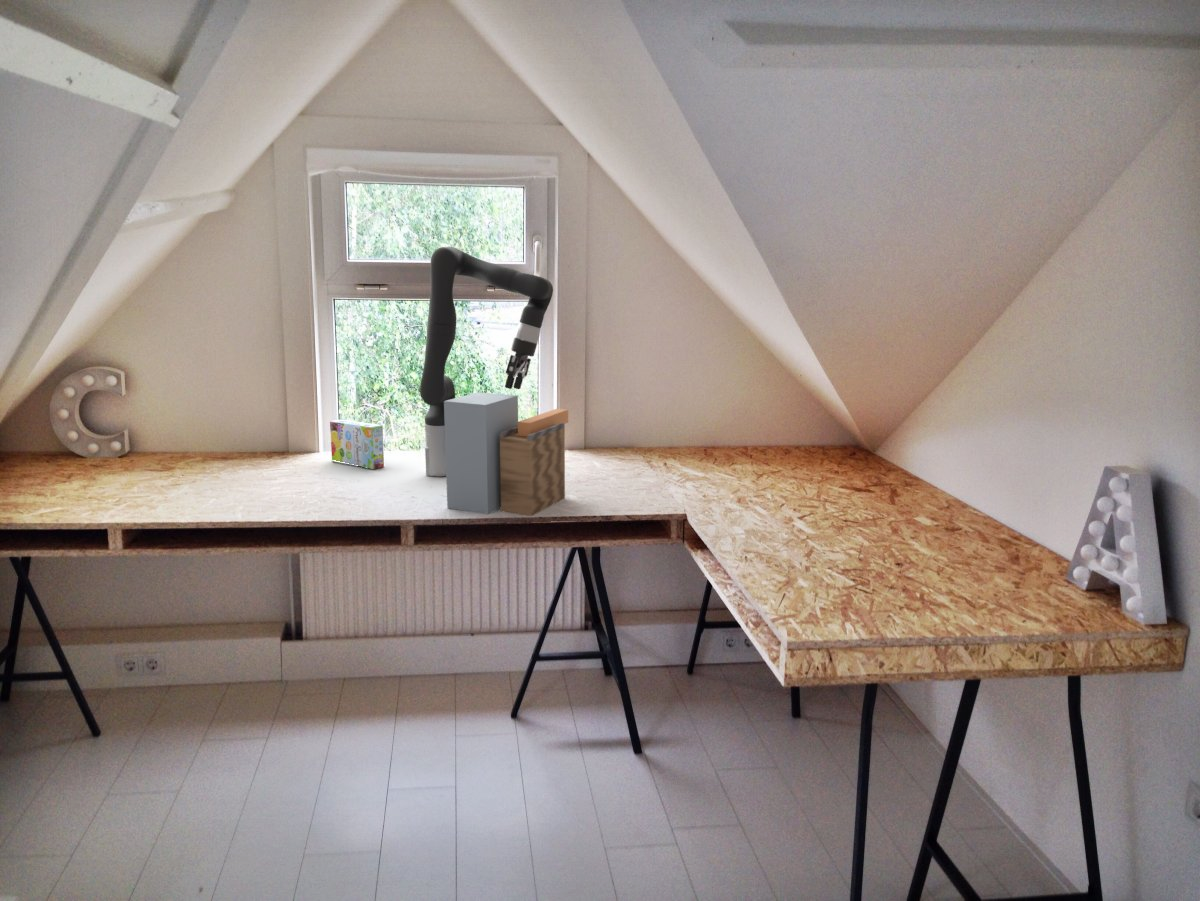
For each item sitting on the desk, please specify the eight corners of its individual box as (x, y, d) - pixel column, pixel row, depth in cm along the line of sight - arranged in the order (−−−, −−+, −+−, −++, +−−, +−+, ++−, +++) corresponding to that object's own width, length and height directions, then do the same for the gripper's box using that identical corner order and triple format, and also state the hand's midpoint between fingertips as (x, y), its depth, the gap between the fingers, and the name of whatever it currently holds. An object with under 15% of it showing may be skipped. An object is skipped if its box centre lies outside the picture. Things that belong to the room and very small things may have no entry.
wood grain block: (531, 515, 270) (530, 435, 265) (501, 511, 274) (499, 432, 269) (564, 498, 289) (564, 423, 284) (536, 494, 293) (535, 420, 288)
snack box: (385, 467, 327) (383, 424, 324) (373, 470, 323) (371, 427, 319) (342, 459, 338) (340, 418, 335) (330, 462, 334) (328, 420, 330)
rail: (529, 436, 271) (529, 423, 270) (517, 435, 273) (517, 421, 272) (568, 422, 292) (568, 409, 292) (556, 421, 294) (556, 408, 293)
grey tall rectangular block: (487, 514, 272) (485, 404, 265) (447, 508, 278) (443, 401, 270) (519, 499, 288) (517, 395, 281) (480, 493, 293) (477, 392, 286)
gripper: (522, 337, 306) (508, 385, 308) (508, 334, 292) (494, 384, 294) (543, 343, 305) (529, 392, 306) (530, 341, 291) (516, 391, 293)
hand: (512, 388), depth 300 cm, fingers open, 8 cm apart
